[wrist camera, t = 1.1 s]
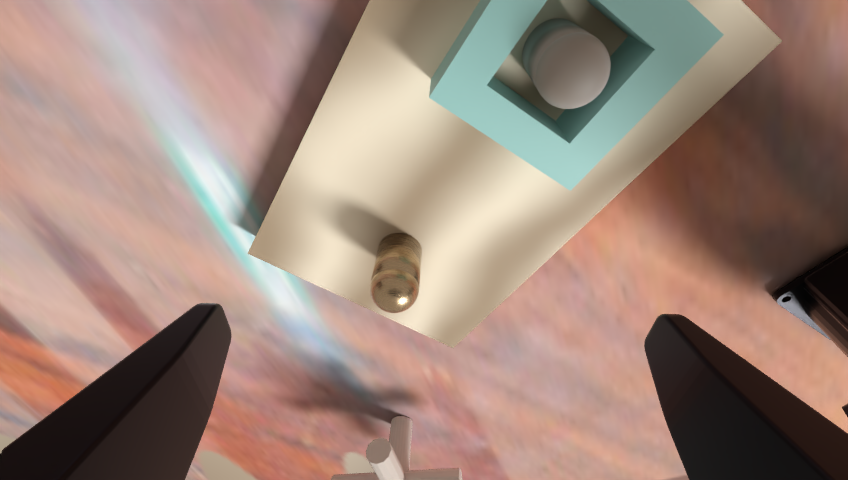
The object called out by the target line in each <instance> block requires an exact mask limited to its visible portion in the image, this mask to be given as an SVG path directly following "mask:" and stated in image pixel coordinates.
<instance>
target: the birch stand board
mask: <svg viewBox="0 0 848 480" xmlns="http://www.w3.org/2000/svg"><path fill="white" fill-rule="evenodd" d="M479 1H480V0H370V1H369V3H368V5H367V7H366V9H365V11H364V13H363V15H362V17H361V19H360V21H359V23H358V25H357V28H356V30H355V32H354V34H353V36H352V38H351V40H350V42H349V44H348V46H347V48H346V50H345V52H344V55H343V57H342V59H341V61H340V63H339V65H338V67H337V69H336V71H335V73H334V75H333V77H332V79H331V81H330V84H329V86H328V88H327V90H326V92H325V94H324V96H323V98H322V100H321V102H320V104H319V106H318V108H317V111H316V113H315V115H314V117H313V119H312V121H311V123H310V125H309V127H308V129H307V131H306V133H305V135H304V138H303V140H302V142H301V144H300V146H299V148H298V150H297V152H296V154H295V156H294V158H293V160H292V162H291V165H290V167H289V169H288V171H287V173H286V175H285V177H284V179H283V181H282V183H281V185H280V187H279V189H278V192H277V194H276V196H275V198H274V200H273V202H272V204H271V206H270V208H269V210H268V212H267V214H266V216H265V219H264V221H263V223H262V225H261V227H260V229H259V231H258V233H257V235H256V237H255V239H254V241H253V243H252V246H251V248H250V250H249V252H248V254H250V255H252V256H254V257H257V258H259V259H261V260H263V261H265V262H267V263H270V264H272V265H274V266H276V267H278V268H280V269H283V270H285V271H287V272H289V273H291V274H293V275H296V276H298V277H300V278H302V279H304V280H306V281H309V282H311V283H313V284H315V285H317V286H319V287H322V288H324V289H326V290H328V291H330V292H332V293H335V294H337V295H339V296H341V297H343V298H345V299H348V300H350V301H352V302H354V303H356V304H358V305H361V306H363V307H365V308H367V309H369V310H372V311H374V312H376V313H378V314H380V315H382V316H385V317H387V318H389V319H391V320H393V321H395V322H398V323H400V324H402V325H404V326H406V327H408V328H411V329H413V330H415V331H417V332H419V333H421V334H424V335H426V336H428V337H430V338H432V339H434V340H437V341H439V342H441V343H443V344H445V345H447V346H450V347H452V348H454V347H455V346H456V345H457V344H458V343H459V342H460V341H461V340H462V339H464V338H465V337H466V336H467V335H468V334H469V333H470V332H471V331H472V330H473V329H474V328H475V327H476V326H477V325H479V324H480V323H481V322H482V321H483V320H484V319H485V318H486V317H487V316H488V315H489V314H490V313H491V312H492V311H494V310H495V309H496V308H497V307H498V306H499V305H500V304H501V303H502V302H503V301H504V300H505V299H506V298H507V297H509V296H510V295H511V294H512V293H513V292H514V291H515V290H516V289H517V288H518V287H519V286H520V285H521V284H522V283H524V282H525V281H526V280H527V279H528V278H529V277H530V276H531V275H532V274H533V273H534V272H535V271H536V270H537V269H539V268H540V267H541V266H542V265H543V264H544V263H545V262H546V261H547V260H548V259H549V258H550V257H551V256H552V255H554V254H555V253H556V252H557V251H558V250H559V249H560V248H561V247H562V246H563V245H564V244H565V243H566V242H567V241H569V240H570V239H571V238H572V237H573V236H574V235H575V234H576V233H577V232H578V231H579V230H580V229H581V228H582V227H584V226H585V225H586V224H587V223H588V222H589V221H590V220H591V219H592V218H593V217H594V216H595V215H596V214H598V213H599V212H600V211H601V210H602V209H603V208H604V207H605V206H606V205H607V204H608V203H609V202H610V201H611V200H613V199H614V198H615V197H616V196H617V195H618V194H619V193H620V192H621V191H622V190H623V189H624V188H625V187H626V186H628V185H629V184H630V183H631V182H632V181H633V180H634V179H635V178H636V177H637V176H638V175H639V174H640V173H641V172H643V171H644V170H645V169H646V168H647V167H648V166H649V165H650V164H651V163H652V162H653V161H654V160H655V159H656V158H658V157H659V156H660V155H661V154H662V153H663V152H664V151H665V150H666V149H667V148H668V147H669V146H670V145H671V144H673V143H674V142H675V141H676V140H677V139H678V138H679V137H680V136H681V135H682V134H683V133H684V132H685V131H686V130H688V129H689V128H690V127H691V126H692V125H693V124H694V123H695V122H696V121H697V120H698V119H699V118H700V117H701V116H703V115H704V114H705V113H706V112H707V111H708V110H709V109H710V108H711V107H712V106H713V105H714V104H715V103H716V102H718V101H719V100H720V99H721V98H722V97H723V96H724V95H725V94H726V93H727V92H728V91H729V90H730V89H731V88H733V87H734V86H735V85H736V84H737V83H738V82H739V81H740V80H741V79H742V78H743V77H744V76H745V75H746V74H748V73H749V72H750V71H751V70H752V69H753V68H754V67H755V66H756V65H757V64H758V63H759V62H760V61H761V60H763V59H764V58H765V57H766V56H767V55H768V54H769V53H770V52H771V51H772V50H773V49H774V48H775V47H776V46H778V45H779V44H780V43H781V42H782V40H781V39H780V38H779V37H778V36H777V35H776V34H775V33H774V32H773V31H772V30H771V29H770V28H769V27H768V26H767V25H766V24H765V23H764V22H763V21H762V20H761V19H760V18H758V17H757V16H756V15H755V14H754V13H753V12H752V11H751V10H750V9H749V8H748V7H747V6H746V5H745V4H744V3H743V2H742V1H741V0H687V1H689V2H690V3H691V4H692V5H693V6H694V7H695V8H696V9H697V10H698V11H699V12H700V13H701V14H702V15H703V16H704V17H706V18H707V19H708V20H709V21H710V22H711V23H712V24H713V25H714V26H715V27H716V28H717V29H718V30H719V31H720V32H722V33H723V34H724V35H723V36H722V37H721V38H720V39H719V40H718V41H717V42H716V43H715V44H714V46H713V47H712V48H711V49H710V50H709V51H708V52H707V53H706V54H705V55H704V56H703V57H702V58H701V59H700V60H699V61H698V62H697V63H696V64H695V65H694V66H693V67H692V68H691V69H690V70H689V71H688V72H687V73H686V74H685V75H684V76H683V77H682V78H681V79H680V80H679V81H678V82H677V83H676V84H675V85H674V86H673V87H672V88H671V89H670V90H669V91H668V92H667V93H666V94H665V95H664V96H663V97H662V98H661V99H660V100H659V101H658V102H657V103H656V104H655V105H654V107H653V108H652V109H651V110H650V111H649V112H648V113H647V114H646V115H645V116H644V117H643V118H642V119H641V120H640V121H639V122H638V123H637V124H636V125H635V126H634V127H633V128H632V129H631V130H630V131H629V132H628V133H627V134H626V135H625V136H624V137H623V138H622V139H621V140H620V141H619V142H618V143H617V144H616V145H615V146H614V147H613V148H612V149H611V150H610V151H609V152H608V153H607V154H606V155H605V156H604V157H603V158H602V159H601V160H600V161H599V162H598V163H597V164H596V165H595V166H594V168H593V169H592V170H591V171H590V172H589V173H588V174H587V175H586V176H585V177H584V178H583V179H582V180H581V181H580V182H579V183H578V184H577V185H576V186H575V187H574V188H573V189H572V190H571V191H570V190H568V189H567V188H565V187H564V186H562V185H561V184H559V183H558V182H556V181H555V180H553V179H552V178H550V177H549V176H547V175H546V174H544V173H543V172H541V171H539V170H538V169H536V168H535V167H533V166H532V165H530V164H529V163H527V162H526V161H524V160H523V159H521V158H520V157H518V156H517V155H515V154H514V153H512V152H511V151H509V150H508V149H506V148H505V147H503V146H502V145H500V144H499V143H497V142H495V141H494V140H492V139H491V138H489V137H488V136H486V135H485V134H483V133H482V132H480V131H479V130H477V129H476V128H474V127H473V126H471V125H470V124H468V123H467V122H465V121H464V120H462V119H461V118H459V117H458V116H456V115H455V114H453V113H451V112H450V111H448V110H447V109H445V108H444V107H442V106H441V105H439V104H438V103H436V102H435V101H433V100H432V99H430V98H429V92H430V83H431V78H432V77H433V75H434V73H435V72H436V70H437V69H438V67H439V65H440V64H441V62H442V61H443V59H444V57H445V56H446V54H447V53H448V51H449V49H450V48H451V46H452V45H453V43H454V41H455V40H456V38H457V37H458V35H459V33H460V32H461V30H462V29H463V27H464V25H465V24H466V22H467V21H468V19H469V17H470V16H471V14H472V13H473V11H474V9H475V8H476V6H477V5H478V3H479ZM627 37H628V35H627V34H626V33H625V32H623V31H622V30H621V29H620V28H619V27H618V26H616V25H615V24H614V23H613V22H612V21H610V20H609V19H608V18H607V17H606V16H605V15H603V14H602V13H601V12H600V11H599V10H598V9H596V8H595V7H594V6H593V5H592V4H590V3H589V2H588V1H587V0H547V1H546V3H545V4H544V6H543V7H542V8H541V10H540V11H539V13H538V14H537V15H536V17H535V18H534V20H533V21H532V22H531V24H530V25H529V27H528V28H527V29H526V31H525V32H524V34H523V35H522V36H521V38H520V39H519V41H518V42H517V43H516V45H515V46H514V48H513V49H512V50H511V52H510V53H509V55H508V56H507V58H506V59H505V60H504V62H503V63H502V65H501V66H500V67H499V69H498V70H497V72H496V73H495V74H494V77H495V78H497V79H498V80H499V81H501V82H502V83H504V84H505V85H506V86H508V87H509V88H511V89H512V90H513V91H515V92H516V93H518V94H519V95H520V96H522V97H523V98H525V99H526V100H527V101H529V102H530V103H532V104H533V105H534V106H536V107H537V108H539V109H540V110H541V111H543V112H544V113H546V114H547V115H548V116H550V117H551V118H553V119H554V120H555V121H556V120H557V119H558V117H559V116H560V115H561V114H562V113H563V112H564V110H565V109H574V108H578V107H581V106H584V105H586V104H588V103H590V102H591V101H593V100H594V99H595V98H596V97H597V96H598V95H599V94H600V93H601V92H602V90H603V89H604V87H605V85H606V83H607V81H608V79H609V75H610V68H611V61H610V57H611V55H612V54H613V53H614V52H615V51H616V50H617V48H618V47H619V46H620V45H621V44H622V43H623V41H624V40H625V39H626V38H627ZM393 233H405V234H408V235H410V236H412V237H414V238H415V239H416V240H417V241H418V242H419V243H420V245H421V248H422V258H421V271H420V284H419V293H418V297H417V299H416V301H415V303H414V304H413V305H412V306H411V307H410V308H409V309H407V310H405V311H403V312H400V313H389V312H385V311H383V310H381V309H380V308H379V307H377V306H376V304H375V303H374V302H373V300H372V298H371V295H370V283H371V278H372V274H373V269H374V264H375V260H376V255H377V251H378V246H379V243H380V241H381V240H382V239H383V238H384V237H386V236H387V235H389V234H393Z"/></svg>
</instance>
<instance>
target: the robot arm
mask: <svg viewBox="0 0 848 480" xmlns="http://www.w3.org/2000/svg"><path fill="white" fill-rule="evenodd" d="M773 299H774V300H775V301H776V302H777V303H778V304H779V305H780V306H782V307H783V308H784V309H786V310H787V311H789V312H790V313H792V314H793V315H795V316H796V317H798V318H799V319H800V320H802V321H803V322H805V323H806V324H808V325H809V326H811V327H812V328H814V329H815V330H817V331H818V332H819V333H821V334H822V335H824V336H825V337H827V338H828V339H830V340H832V341H833V342H834V343H835V344H836V345H837V346H838V347H839V348H840V349H841V350H842V351H843V352H844V354H845V355H846V356H847V357H848V248H846V249H844V250H843V251H841V252H840V253H838V254H836V255H835V256H833V257H832V258H830V259H828V260H827V261H825V262H823V263H822V264H820V265H819V266H817V267H815V268H814V269H812V270H811V271H809V272H807V273H806V274H804V275H802V276H801V277H799V278H798V279H796V280H794V281H793V282H791V283H790V284H788V285H786V286H785V287H783V288H781V289H780V290H778V291H777V292H775V293H774V295H773ZM230 342H231V329H230V326H229V324H228V321H227V318H226V316H225V313H224V310H223V308H222V306H221V305H219V304H214V303H200V304H197V305H195V306H194V307H192V308H191V309H190V310H188V311H187V312H186V313H184V314H183V315H182V316H180V317H179V318H178V319H176V320H175V321H174V322H172V323H171V324H170V325H168V326H167V327H166V328H164V329H163V330H162V331H160V332H159V333H158V334H156V335H155V336H154V337H152V338H151V339H150V340H148V341H147V342H146V343H144V344H143V345H142V346H140V347H139V348H138V349H136V350H135V351H134V352H132V353H131V354H130V355H128V356H127V357H126V358H124V359H123V360H122V361H120V362H119V363H118V364H116V365H115V366H114V367H112V368H111V369H110V370H108V371H107V372H106V373H104V374H103V375H102V376H100V377H99V378H98V379H96V380H95V381H94V382H92V383H91V384H89V385H88V386H87V387H85V388H84V389H83V390H81V391H80V392H79V393H77V394H76V395H75V396H73V397H72V398H71V399H69V400H68V401H67V402H65V403H64V404H63V405H61V406H60V407H59V408H57V409H56V410H55V411H53V412H52V413H51V414H49V415H48V416H47V417H45V418H44V419H43V420H41V421H40V422H39V423H37V424H36V425H35V426H33V427H32V428H31V429H29V430H28V431H27V432H25V433H24V434H23V435H21V436H20V437H19V438H17V439H16V440H15V441H13V442H12V443H11V444H9V445H8V446H7V447H5V448H4V449H3V450H2V453H1V454H0V480H185V478H186V476H187V473H188V470H189V468H190V465H191V463H192V460H193V458H194V455H195V453H196V450H197V448H198V445H199V443H200V440H201V437H202V435H203V432H204V430H205V427H206V425H207V422H208V419H209V417H210V414H211V411H212V408H213V404H214V401H215V397H216V394H217V390H218V386H219V383H220V379H221V375H222V371H223V368H224V364H225V360H226V357H227V353H228V349H229V346H230ZM644 346H645V352H646V356H647V359H648V363H649V366H650V370H651V373H652V377H653V380H654V384H655V387H656V391H657V394H658V397H659V401H660V404H661V408H662V411H663V414H664V417H665V420H666V423H667V425H668V428H669V431H670V433H671V436H672V438H673V441H674V443H675V446H676V448H677V451H678V453H679V456H680V458H681V460H682V463H683V465H684V468H685V470H686V473H687V475H688V478H689V480H848V433H846V432H845V431H843V430H842V429H841V428H839V427H838V426H836V425H835V424H834V423H832V422H831V421H829V420H828V419H827V418H825V417H824V416H823V415H821V414H820V413H818V412H817V411H816V410H814V409H813V408H811V407H810V406H809V405H807V404H806V403H804V402H803V401H802V400H800V399H799V398H797V397H796V396H795V395H793V394H792V393H791V392H789V391H788V390H786V389H785V388H784V387H782V386H781V385H779V384H778V383H777V382H775V381H774V380H772V379H771V378H770V377H768V376H767V375H765V374H764V373H763V372H761V371H760V370H758V369H757V368H756V367H754V366H753V365H752V364H750V363H749V362H747V361H746V360H745V359H743V358H742V357H740V356H739V355H738V354H736V353H735V352H733V351H732V350H731V349H729V348H728V347H726V346H725V345H724V344H722V343H721V342H720V341H718V340H717V339H715V338H714V337H713V336H711V335H710V334H708V333H707V332H706V331H704V330H703V329H701V328H700V327H699V326H697V325H696V324H694V323H693V322H692V321H690V320H689V319H688V318H686V317H684V316H682V315H679V314H661V315H660V316H658V317H657V319H656V321H655V322H654V324H653V326H652V328H651V330H650V331H649V333H648V335H647V337H646V339H645V345H644ZM842 409H843V410H844V412H845V414H846V415H847V417H848V404H846V405H845V406H843V407H842Z"/></svg>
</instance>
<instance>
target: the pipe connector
mask: <svg viewBox="0 0 848 480" xmlns="http://www.w3.org/2000/svg"><path fill="white" fill-rule="evenodd" d="M411 436H412V420H411V419H410V418H408V417H405V416H397V417H394V418H393V419H392V420H391V428H390V437H389V441H388V440H387V439H384V438H378V439H375V440H373V441H372V442H371V443H370V444H369V445H368V448H367V450H366V457H367V459H368V461H369V463H370V465H371V466H372V468H373V470H374V472H375V473H358V474H339V475H333V476H332V478H331V480H462V473H461V469H460V468H447V469H429V470H411V471H409V464H410V450H411Z"/></svg>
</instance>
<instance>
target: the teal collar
mask: <svg viewBox="0 0 848 480" xmlns="http://www.w3.org/2000/svg"><path fill="white" fill-rule="evenodd" d="M546 1H547V0H480V1H479V3H478V5H477V6H476V8H475V9H474V11H473V13H472V14H471V16H470V17H469V19H468V21H467V22H466V24H465V25H464V27H463V29H462V30H461V32H460V33H459V35H458V37H457V38H456V40H455V41H454V43H453V45H452V46H451V48H450V49H449V51H448V53H447V54H446V56H445V57H444V59H443V61H442V62H441V64H440V65H439V67H438V69H437V70H436V72H435V73H434V75H433V77H432V78H431V83H430V92H429V98H430V99H432V100H433V101H435V102H436V103H438V104H439V105H441V106H442V107H444V108H445V109H447V110H448V111H450V112H451V113H453V114H455V115H456V116H458V117H459V118H461V119H462V120H464V121H465V122H467V123H468V124H470V125H471V126H473V127H474V128H476V129H477V130H479V131H480V132H482V133H483V134H485V135H486V136H488V137H489V138H491V139H492V140H494V141H495V142H497V143H499V144H500V145H502V146H503V147H505V148H506V149H508V150H509V151H511V152H512V153H514V154H515V155H517V156H518V157H520V158H521V159H523V160H524V161H526V162H527V163H529V164H530V165H532V166H533V167H535V168H536V169H538V170H539V171H541V172H543V173H544V174H546V175H547V176H549V177H550V178H552V179H553V180H555V181H556V182H558V183H559V184H561V185H562V186H564V187H565V188H567V189H568V190H570V191H571V190H572V189H573V188H574V187H575V186H576V185H577V184H578V183H579V182H580V181H581V180H582V179H583V178H584V177H585V176H586V175H587V174H588V173H589V172H590V171H591V170H592V169H593V168H594V166H595V165H596V164H597V163H598V162H599V161H600V160H601V159H602V158H603V157H604V156H605V155H606V154H607V153H608V152H609V151H610V150H611V149H612V148H613V147H614V146H615V145H616V144H617V143H618V142H619V141H620V140H621V139H622V138H623V137H624V136H625V135H626V134H627V133H628V132H629V131H630V130H631V129H632V128H633V127H634V126H635V125H636V124H637V123H638V122H639V121H640V120H641V119H642V118H643V117H644V116H645V115H646V114H647V113H648V112H649V111H650V110H651V109H652V108H653V107H654V105H655V104H656V103H657V102H658V101H659V100H660V99H661V98H662V97H663V96H664V95H665V94H666V93H667V92H668V91H669V90H670V89H671V88H672V87H673V86H674V85H675V84H676V83H677V82H678V81H679V80H680V79H681V78H682V77H683V76H684V75H685V74H686V73H687V72H688V71H689V70H690V69H691V68H692V67H693V66H694V65H695V64H696V63H697V62H698V61H699V60H700V59H701V58H702V57H703V56H704V55H705V54H706V53H707V52H708V51H709V50H710V49H711V48H712V47H713V46H714V44H715V43H716V42H717V41H718V40H719V39H720V38H721V37H722V36H723V35H724V34H723V33H722V32H720V31H719V30H718V29H717V28H716V27H715V26H714V25H713V24H712V23H711V22H710V21H709V20H708V19H707V18H706V17H704V16H703V15H702V14H701V13H700V12H699V11H698V10H697V9H696V8H695V7H694V6H693V5H692V4H691V3H690V2H689V1H687V0H587V1H588V2H589V3H590V4H592V5H593V6H594V7H595V8H596V9H598V10H599V11H600V12H601V13H602V14H603V15H605V16H606V17H607V18H608V19H609V20H610V21H612V22H613V23H614V24H615V25H616V26H618V27H619V28H620V29H621V30H622V31H623V32H625V33H626V34H627V35H628V37H627V38H626V39H625V40H624V41H623V43H622V44H621V45H620V46H619V47H618V48H617V50H616V51H615V52H614V53H613V54H612V55H611V57H610V61H611V68H610V75H609V79H608V81H607V83H606V85H605V87H604V89H603V90H602V92H601V93H600V94H599V95H598V96H597V97H596V98H595V99H594V100H593V101H591V102H590V103H588V104H586V105H584V106H581V107H578V108H574V109H565V110H564V112H563V113H562V114H561V115H560V116H559V117H558V119H557V120H556V121H555V120H554V119H553V118H551V117H550V116H548V115H547V114H546V113H544V112H543V111H541V110H540V109H539V108H537V107H536V106H534V105H533V104H532V103H530V102H529V101H527V100H526V99H525V98H523V97H522V96H520V95H519V94H518V93H516V92H515V91H513V90H512V89H511V88H509V87H508V86H506V85H505V84H504V83H502V82H501V81H499V80H498V79H497V78H495V77H494V74H495V73H496V72H497V70H498V69H499V67H500V66H501V65H502V63H503V62H504V60H505V59H506V58H507V56H508V55H509V53H510V52H511V50H512V49H513V48H514V46H515V45H516V43H517V42H518V41H519V39H520V38H521V36H522V35H523V34H524V32H525V31H526V29H527V28H528V27H529V25H530V24H531V22H532V21H533V20H534V18H535V17H536V15H537V14H538V13H539V11H540V10H541V8H542V7H543V6H544V4H545V3H546Z"/></svg>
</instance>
